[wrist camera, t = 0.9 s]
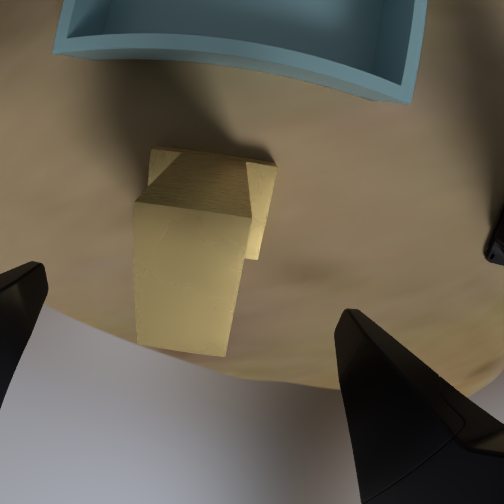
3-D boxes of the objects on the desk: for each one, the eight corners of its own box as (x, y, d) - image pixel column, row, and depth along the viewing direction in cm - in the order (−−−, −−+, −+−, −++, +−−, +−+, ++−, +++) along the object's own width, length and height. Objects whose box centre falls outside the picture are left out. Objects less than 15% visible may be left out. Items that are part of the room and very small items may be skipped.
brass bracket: (275, 163, 15) (309, 227, 8) (256, 251, 17) (268, 361, 10) (156, 145, 14) (83, 195, 7) (149, 235, 16) (97, 335, 9)
